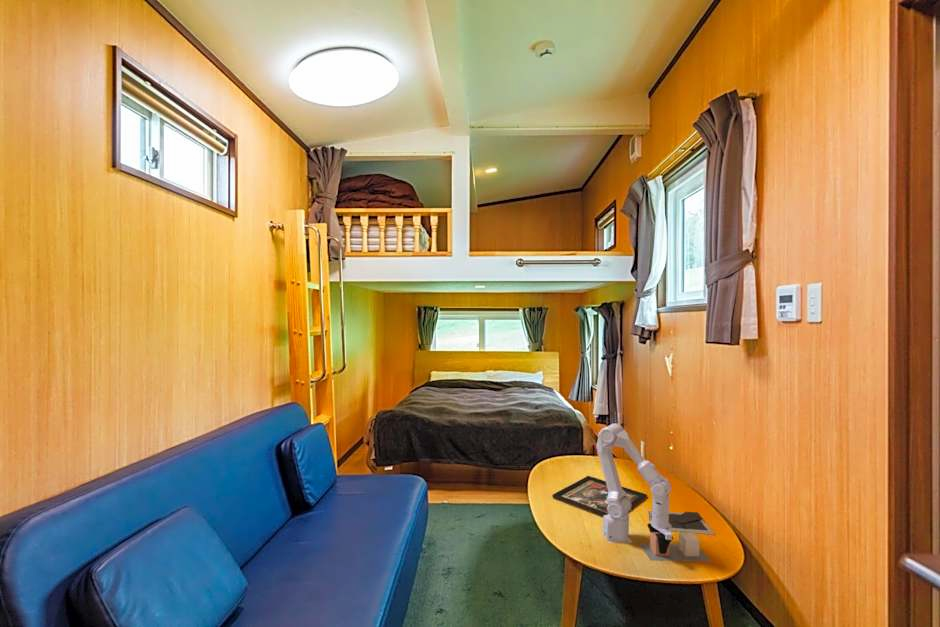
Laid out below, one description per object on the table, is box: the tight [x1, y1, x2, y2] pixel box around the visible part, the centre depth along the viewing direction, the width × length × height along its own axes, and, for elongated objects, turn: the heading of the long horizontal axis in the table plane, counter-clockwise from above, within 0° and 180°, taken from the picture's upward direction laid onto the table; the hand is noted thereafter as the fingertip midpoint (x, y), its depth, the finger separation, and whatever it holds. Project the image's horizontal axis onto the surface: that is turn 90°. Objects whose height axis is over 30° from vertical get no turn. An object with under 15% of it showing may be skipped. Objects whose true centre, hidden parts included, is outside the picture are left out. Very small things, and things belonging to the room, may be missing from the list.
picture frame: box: [648, 510, 715, 536], centre depth 181 cm, size 16×3×21 cm
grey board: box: [638, 542, 712, 563], centre depth 159 cm, size 22×11×1 cm, turn 91°
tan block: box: [678, 532, 701, 556], centre depth 159 cm, size 5×5×6 cm
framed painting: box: [551, 475, 648, 519], centre depth 204 cm, size 38×35×3 cm
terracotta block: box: [649, 531, 669, 556], centre depth 159 cm, size 5×5×6 cm
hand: (659, 548), depth 159 cm, fingers closed on terracotta block, 5 cm apart
